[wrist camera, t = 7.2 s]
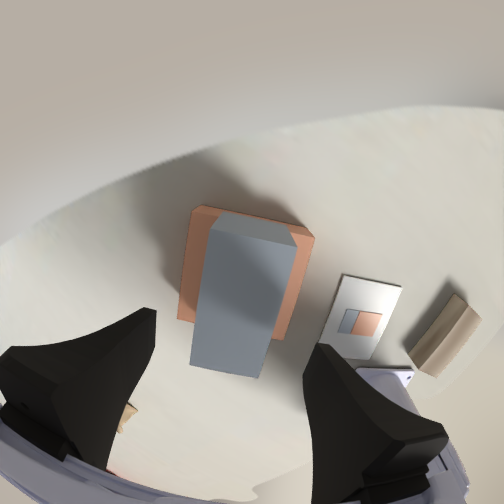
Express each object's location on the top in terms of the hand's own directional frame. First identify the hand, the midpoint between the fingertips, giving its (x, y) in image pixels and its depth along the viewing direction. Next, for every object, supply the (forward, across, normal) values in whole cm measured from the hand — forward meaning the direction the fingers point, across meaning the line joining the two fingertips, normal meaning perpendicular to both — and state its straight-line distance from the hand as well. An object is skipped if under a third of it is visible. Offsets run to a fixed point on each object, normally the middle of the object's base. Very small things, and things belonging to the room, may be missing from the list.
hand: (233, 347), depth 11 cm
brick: (+10, -22, +3) cm, 24 cm away
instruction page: (+10, -11, +3) cm, 15 cm away
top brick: (+7, 0, 0) cm, 7 cm away
